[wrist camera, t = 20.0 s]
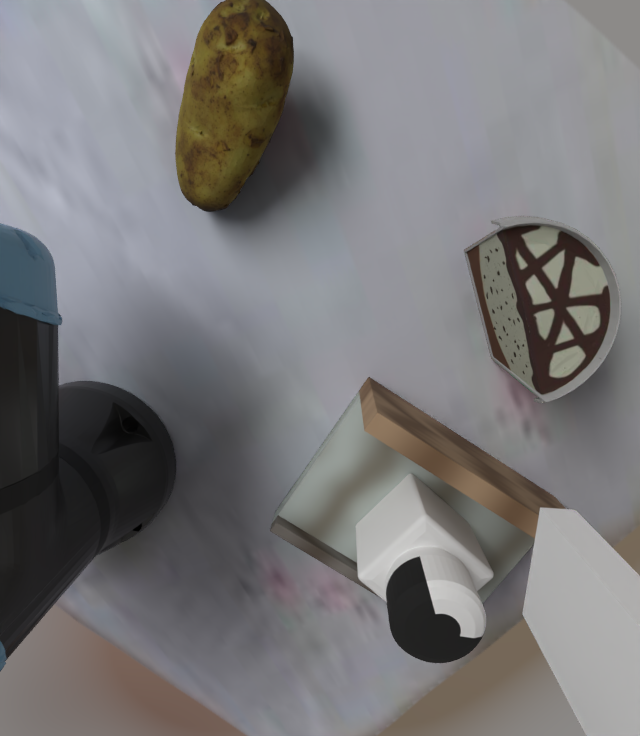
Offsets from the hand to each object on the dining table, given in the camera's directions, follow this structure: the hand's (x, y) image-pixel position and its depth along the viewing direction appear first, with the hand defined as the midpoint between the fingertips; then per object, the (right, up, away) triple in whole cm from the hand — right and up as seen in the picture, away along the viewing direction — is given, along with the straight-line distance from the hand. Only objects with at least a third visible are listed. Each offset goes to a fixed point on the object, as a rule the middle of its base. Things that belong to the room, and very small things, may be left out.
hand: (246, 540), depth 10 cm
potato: (-5, +23, +25) cm, 34 cm away
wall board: (+10, -9, +31) cm, 34 cm away
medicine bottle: (+10, -10, +29) cm, 32 cm away
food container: (+18, +10, +27) cm, 33 cm away
